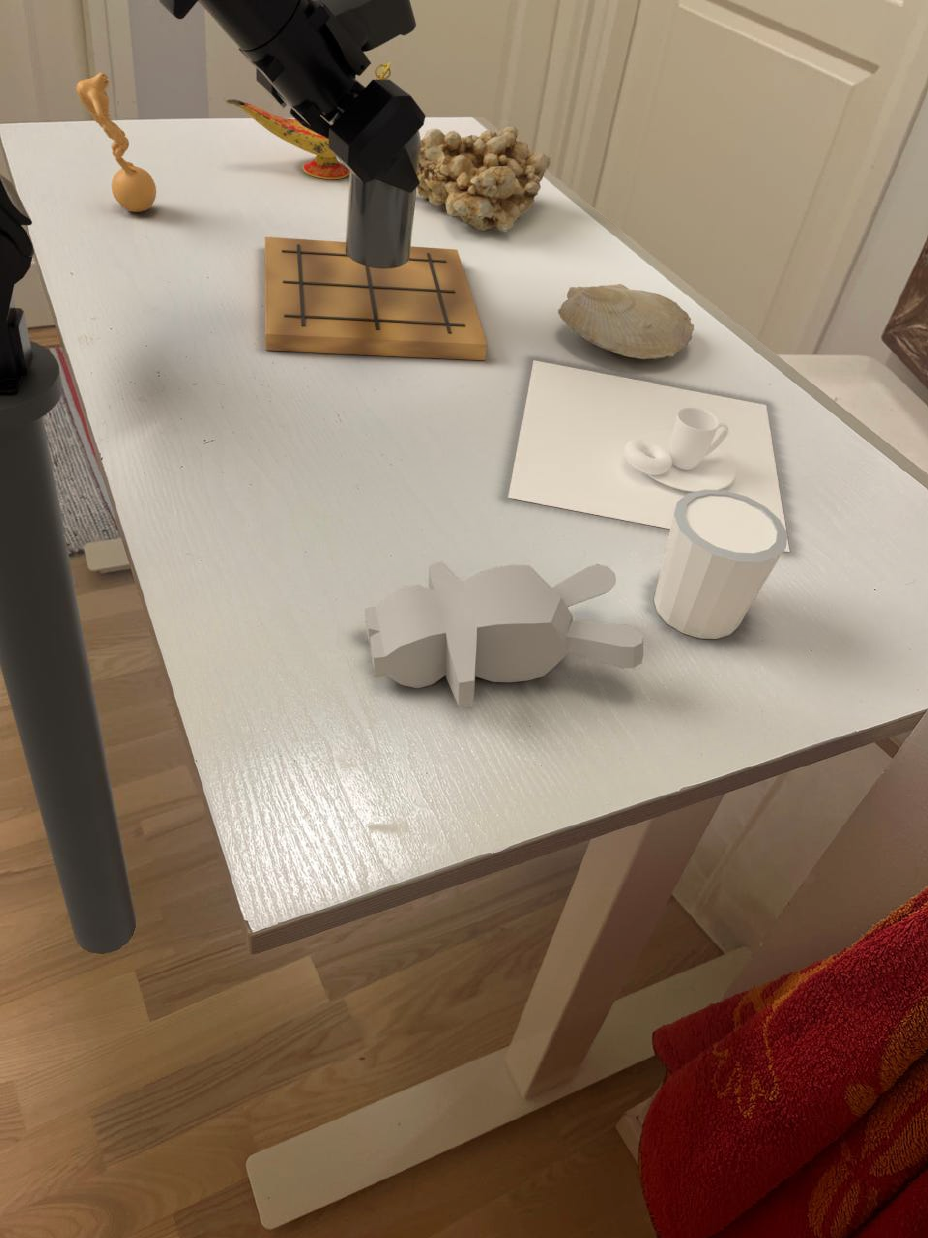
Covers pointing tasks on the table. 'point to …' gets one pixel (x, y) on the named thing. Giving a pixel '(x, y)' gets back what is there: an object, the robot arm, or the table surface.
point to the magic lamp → (304, 137)
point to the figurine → (117, 148)
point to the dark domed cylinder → (381, 219)
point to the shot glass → (716, 561)
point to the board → (368, 303)
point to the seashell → (627, 320)
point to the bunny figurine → (492, 628)
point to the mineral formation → (480, 176)
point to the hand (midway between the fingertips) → (398, 173)
